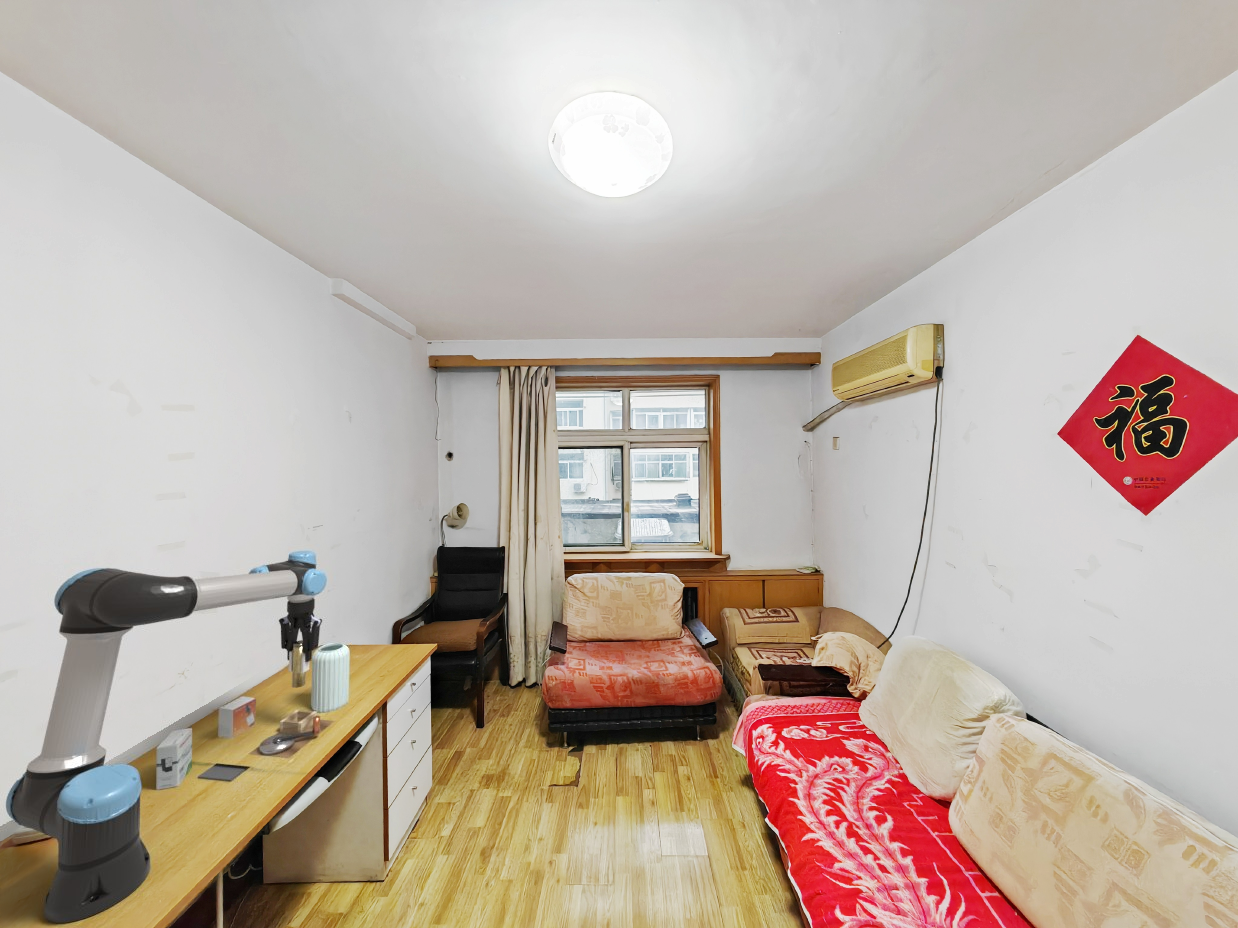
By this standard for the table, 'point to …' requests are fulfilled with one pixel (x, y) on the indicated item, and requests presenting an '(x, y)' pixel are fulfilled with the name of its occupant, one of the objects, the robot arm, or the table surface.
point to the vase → (330, 677)
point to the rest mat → (223, 772)
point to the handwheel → (286, 739)
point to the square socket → (297, 721)
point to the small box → (236, 717)
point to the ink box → (173, 758)
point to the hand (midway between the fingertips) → (299, 670)
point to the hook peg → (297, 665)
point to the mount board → (296, 742)
